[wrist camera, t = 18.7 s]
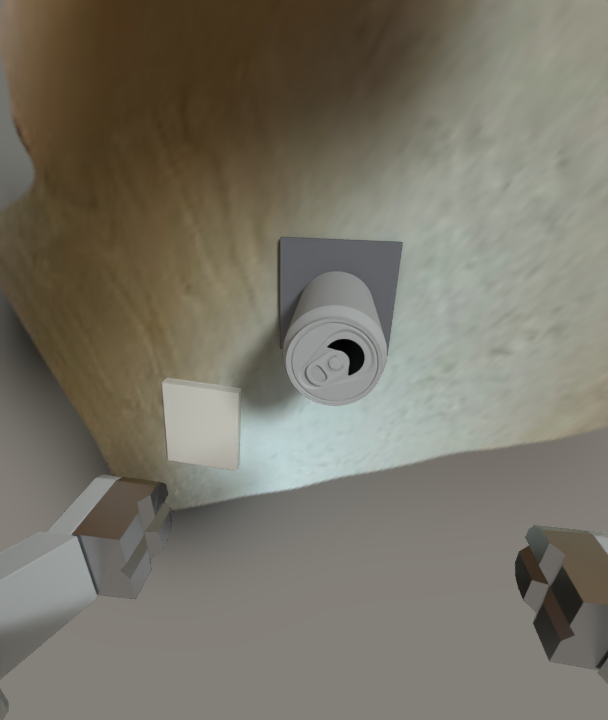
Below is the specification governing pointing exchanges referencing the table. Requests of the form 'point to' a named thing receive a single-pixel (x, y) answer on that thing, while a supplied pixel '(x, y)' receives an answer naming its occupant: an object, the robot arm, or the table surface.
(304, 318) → the beverage can
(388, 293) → the mat
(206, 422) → the tile
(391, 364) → the table surface
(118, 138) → the table surface
